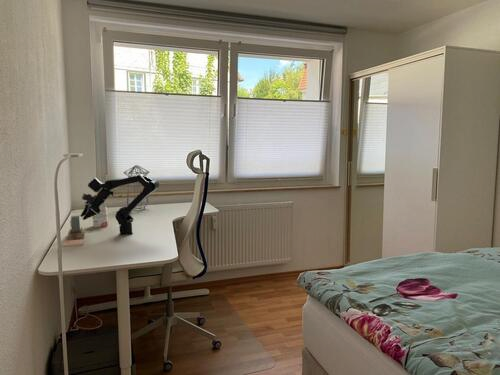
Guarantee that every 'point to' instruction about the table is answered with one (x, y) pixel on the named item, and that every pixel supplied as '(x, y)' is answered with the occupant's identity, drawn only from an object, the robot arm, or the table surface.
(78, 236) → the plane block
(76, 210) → the table surface
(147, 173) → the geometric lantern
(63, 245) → the rubber mat
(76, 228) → the dark gray rectangular block
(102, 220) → the ink cartridge box
